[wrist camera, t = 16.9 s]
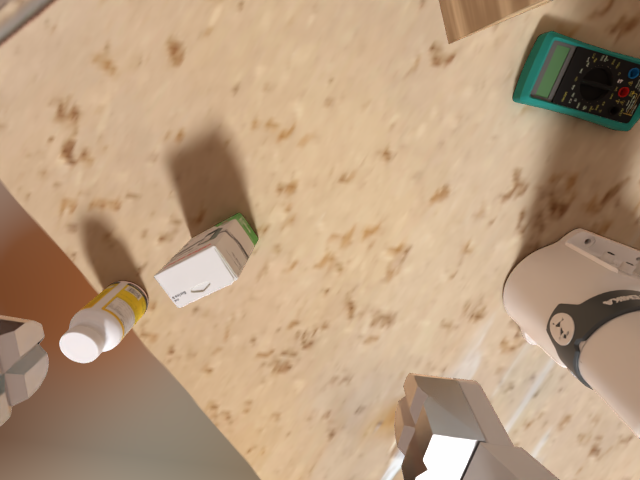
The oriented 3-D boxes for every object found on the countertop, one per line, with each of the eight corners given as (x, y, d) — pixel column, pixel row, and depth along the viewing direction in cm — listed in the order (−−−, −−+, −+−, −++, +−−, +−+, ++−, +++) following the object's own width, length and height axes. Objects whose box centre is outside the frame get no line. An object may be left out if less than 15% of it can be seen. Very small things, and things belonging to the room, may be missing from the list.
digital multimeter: (618, 132, 43) (638, 133, 40) (507, 100, 42) (520, 100, 39) (652, 68, 41) (676, 65, 38) (535, 33, 39) (551, 27, 37)
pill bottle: (102, 304, 53) (45, 355, 43) (114, 271, 51) (57, 317, 40) (142, 322, 54) (96, 376, 44) (156, 291, 52) (112, 340, 41)
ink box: (241, 210, 47) (215, 242, 36) (260, 240, 49) (240, 280, 38) (189, 238, 49) (150, 277, 38) (210, 266, 51) (177, 311, 40)
